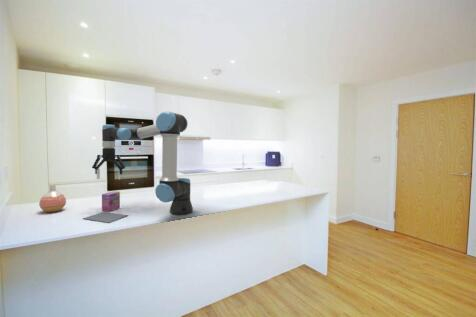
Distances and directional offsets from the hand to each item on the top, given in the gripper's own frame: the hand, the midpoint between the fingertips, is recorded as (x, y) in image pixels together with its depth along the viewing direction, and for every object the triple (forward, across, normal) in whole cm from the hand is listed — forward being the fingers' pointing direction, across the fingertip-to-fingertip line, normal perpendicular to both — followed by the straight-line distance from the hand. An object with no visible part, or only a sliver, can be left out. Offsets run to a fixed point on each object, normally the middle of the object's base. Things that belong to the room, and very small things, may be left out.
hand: (108, 179), depth 154 cm
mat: (+21, -6, +18) cm, 28 cm away
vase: (+22, +34, +1) cm, 41 cm away
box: (+21, -2, +1) cm, 21 cm away
